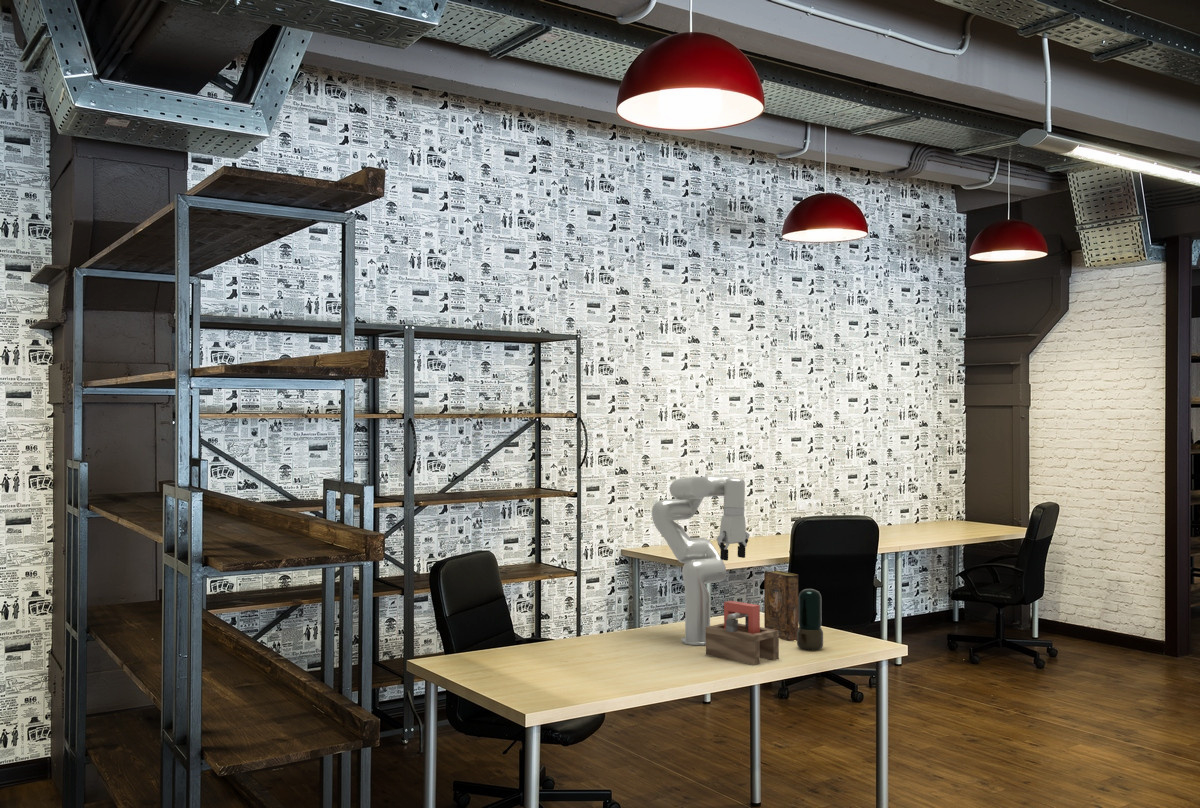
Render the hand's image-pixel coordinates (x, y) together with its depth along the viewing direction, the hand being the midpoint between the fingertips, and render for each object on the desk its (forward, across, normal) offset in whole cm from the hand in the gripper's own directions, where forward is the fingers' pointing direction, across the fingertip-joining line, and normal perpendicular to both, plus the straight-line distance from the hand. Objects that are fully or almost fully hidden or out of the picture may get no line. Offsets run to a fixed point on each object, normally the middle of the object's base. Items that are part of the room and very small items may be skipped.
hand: (732, 558), depth 364 cm
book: (+35, -36, -4) cm, 51 cm away
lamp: (+34, -26, +16) cm, 46 cm away
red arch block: (+28, +2, +7) cm, 29 cm away
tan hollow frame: (+34, +3, +7) cm, 35 cm away
